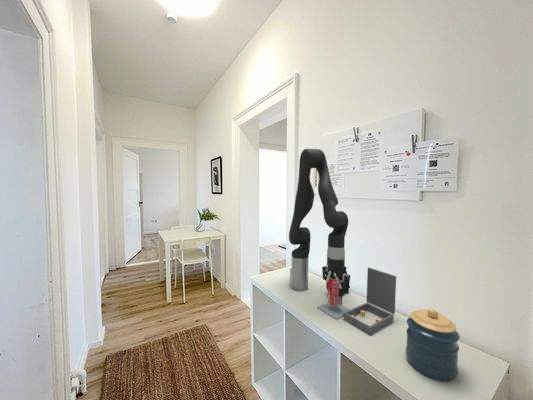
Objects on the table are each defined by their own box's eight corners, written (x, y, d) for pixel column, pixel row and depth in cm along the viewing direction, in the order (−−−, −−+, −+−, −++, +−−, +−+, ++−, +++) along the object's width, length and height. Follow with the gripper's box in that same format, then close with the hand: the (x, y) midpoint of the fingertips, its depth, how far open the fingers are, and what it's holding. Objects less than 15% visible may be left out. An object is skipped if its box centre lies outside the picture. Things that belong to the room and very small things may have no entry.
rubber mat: (316, 307, 102) (316, 306, 102) (333, 301, 108) (333, 300, 108) (336, 319, 93) (336, 318, 93) (353, 312, 99) (353, 311, 99)
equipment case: (343, 319, 93) (344, 274, 92) (367, 308, 102) (369, 267, 101) (370, 335, 83) (371, 285, 82) (394, 321, 92) (396, 276, 91)
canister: (434, 349, 76) (436, 298, 75) (470, 382, 63) (473, 321, 62) (396, 350, 75) (398, 299, 75) (425, 383, 63) (427, 321, 62)
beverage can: (331, 299, 104) (332, 273, 104) (344, 304, 100) (345, 277, 99) (324, 303, 100) (325, 277, 100) (337, 309, 96) (338, 281, 95)
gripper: (317, 253, 103) (317, 289, 104) (343, 262, 91) (342, 302, 92) (329, 251, 107) (328, 285, 108) (355, 259, 95) (354, 297, 96)
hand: (335, 293), depth 100 cm, fingers closed on beverage can, 6 cm apart
